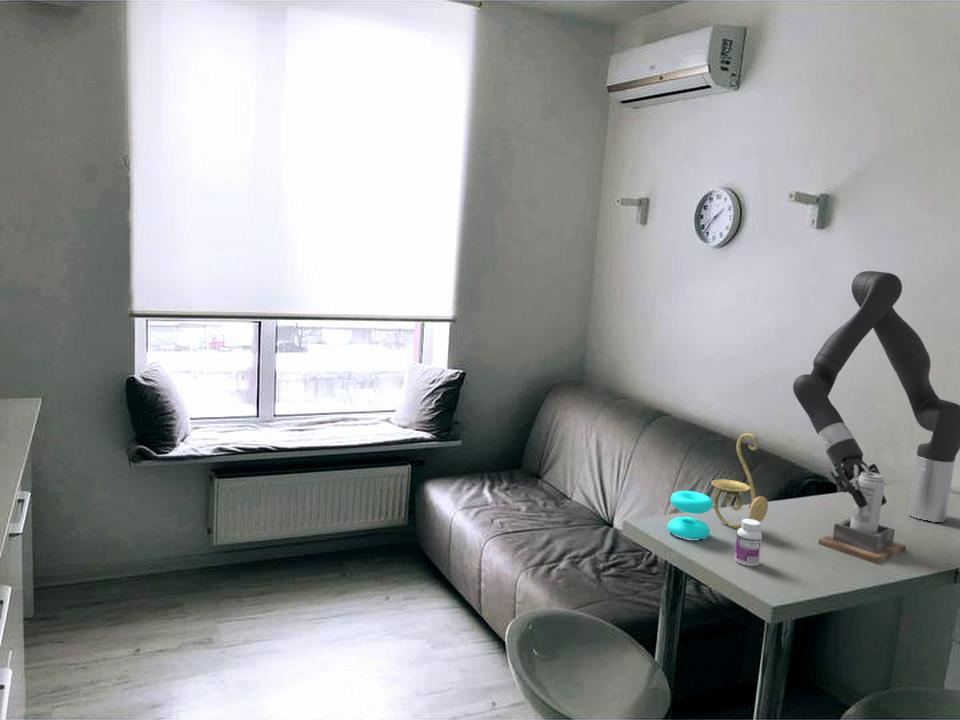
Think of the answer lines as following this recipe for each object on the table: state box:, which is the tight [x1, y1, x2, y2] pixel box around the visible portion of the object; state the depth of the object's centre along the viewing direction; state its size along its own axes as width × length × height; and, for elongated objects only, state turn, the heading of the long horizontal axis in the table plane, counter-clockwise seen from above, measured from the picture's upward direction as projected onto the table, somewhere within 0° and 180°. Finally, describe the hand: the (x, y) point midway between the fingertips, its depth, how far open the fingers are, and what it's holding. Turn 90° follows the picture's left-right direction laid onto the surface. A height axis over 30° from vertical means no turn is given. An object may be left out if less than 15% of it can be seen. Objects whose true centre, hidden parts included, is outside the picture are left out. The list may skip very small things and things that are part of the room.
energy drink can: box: [850, 471, 885, 535], centre depth 194 cm, size 6×6×15 cm
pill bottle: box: [734, 518, 763, 567], centre depth 180 cm, size 5×5×10 cm
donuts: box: [667, 490, 714, 540], centre depth 196 cm, size 10×10×10 cm
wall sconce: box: [710, 432, 769, 529], centre depth 202 cm, size 14×10×25 cm
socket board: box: [818, 518, 907, 564], centre depth 195 cm, size 16×14×5 cm
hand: (873, 505), depth 192 cm, fingers closed on energy drink can, 6 cm apart
